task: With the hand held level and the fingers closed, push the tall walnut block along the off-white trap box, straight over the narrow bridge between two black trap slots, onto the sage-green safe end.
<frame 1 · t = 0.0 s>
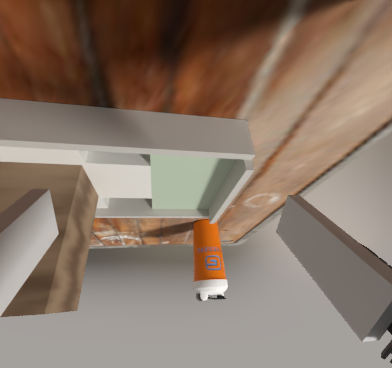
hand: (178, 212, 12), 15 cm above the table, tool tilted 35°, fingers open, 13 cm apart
shaker bottle: (205, 222, 62), on the table
walnut block: (57, 181, 29), point 4 cm above the table, touching trap box
trap box: (133, 161, 33), on the table
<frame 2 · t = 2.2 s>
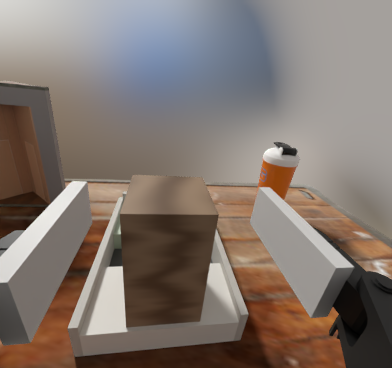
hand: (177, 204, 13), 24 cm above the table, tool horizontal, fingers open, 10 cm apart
shaker bottle: (265, 212, 62), on the table
walnut block: (164, 292, 30), point 4 cm above the table, touching trap box
cabinet: (30, 197, 56), on the table
trap box: (162, 260, 40), on the table
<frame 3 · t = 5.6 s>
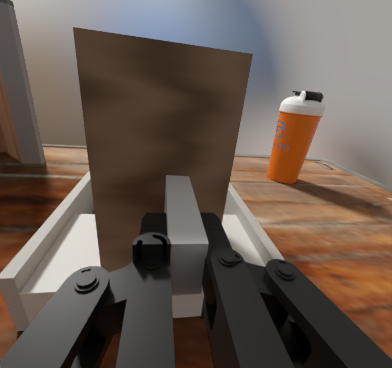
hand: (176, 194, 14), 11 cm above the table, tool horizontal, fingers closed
shaker bottle: (280, 178, 53), on the table
walnut block: (160, 237, 21), point 4 cm above the table, touching gripper
cabinet: (1, 158, 46), on the table
trap box: (159, 218, 31), on the table
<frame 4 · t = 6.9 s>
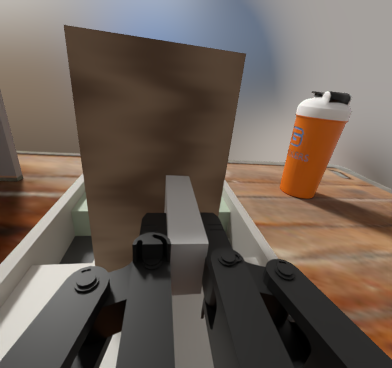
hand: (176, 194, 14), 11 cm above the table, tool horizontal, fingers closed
shaker bottle: (295, 192, 46), on the table
walnut block: (155, 237, 21), point 4 cm above the table, touching gripper, trap box
trap box: (154, 254, 24), on the table
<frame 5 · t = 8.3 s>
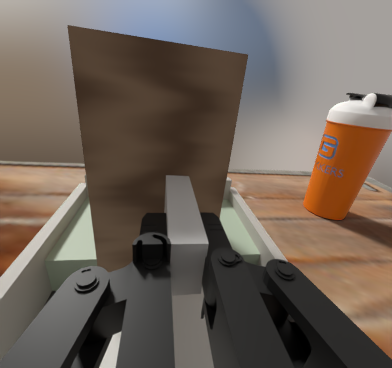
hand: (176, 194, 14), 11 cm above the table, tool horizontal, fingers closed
shaker bottle: (322, 210, 39), on the table
walnut block: (155, 237, 21), point 4 cm above the table
trap box: (160, 319, 18), on the table
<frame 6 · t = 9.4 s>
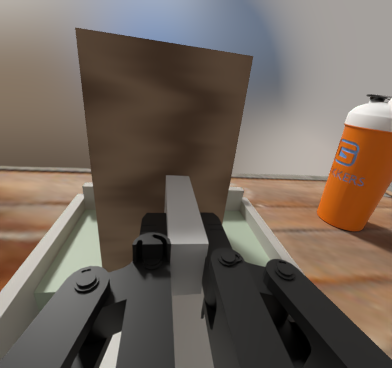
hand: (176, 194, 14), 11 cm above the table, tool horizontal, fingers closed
shaker bottle: (338, 220, 37), on the table
walnut block: (159, 237, 21), point 4 cm above the table, touching gripper
trap box: (169, 360, 15), on the table
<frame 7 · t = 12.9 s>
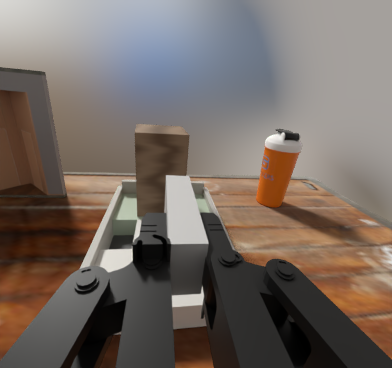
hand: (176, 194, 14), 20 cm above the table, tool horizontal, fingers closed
shaker bottle: (268, 202, 60), on the table
walnut block: (159, 204, 45), point 4 cm above the table, touching trap box
cabinet: (28, 189, 55), on the table
trap box: (163, 246, 39), on the table
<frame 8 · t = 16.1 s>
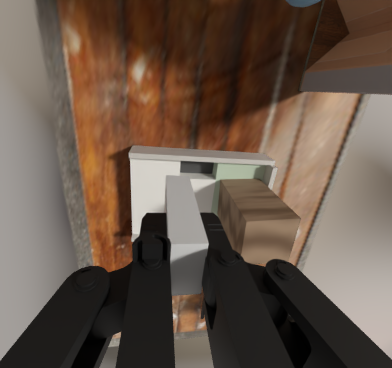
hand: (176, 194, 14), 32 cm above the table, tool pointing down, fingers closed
walnut block: (237, 196, 48), point 4 cm above the table, touching trap box
cabinet: (335, 35, 41), on the table
trap box: (197, 191, 51), on the table
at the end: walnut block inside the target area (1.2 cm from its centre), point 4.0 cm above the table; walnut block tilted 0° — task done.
